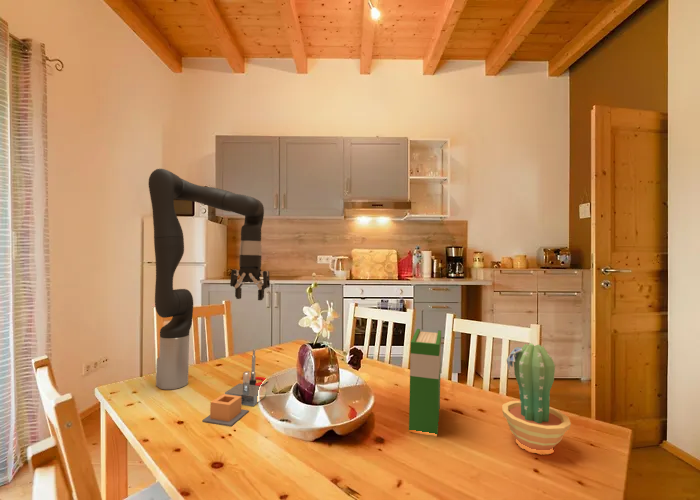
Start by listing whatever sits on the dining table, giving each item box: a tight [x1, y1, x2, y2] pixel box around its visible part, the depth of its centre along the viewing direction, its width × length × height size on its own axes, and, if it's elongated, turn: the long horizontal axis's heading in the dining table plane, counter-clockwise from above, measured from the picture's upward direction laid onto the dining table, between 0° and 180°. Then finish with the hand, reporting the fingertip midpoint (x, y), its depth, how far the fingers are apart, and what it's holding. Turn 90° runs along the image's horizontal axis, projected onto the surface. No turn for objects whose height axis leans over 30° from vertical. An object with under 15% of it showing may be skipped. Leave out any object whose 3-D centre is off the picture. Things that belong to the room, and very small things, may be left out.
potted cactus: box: [501, 343, 572, 450], centre depth 87 cm, size 15×15×25 cm
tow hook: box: [249, 349, 266, 386], centre depth 124 cm, size 8×13×9 cm
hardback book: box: [408, 328, 442, 435], centre depth 99 cm, size 18×7×24 cm, turn 163°
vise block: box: [224, 370, 260, 407], centre depth 109 cm, size 10×11×8 cm
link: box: [209, 393, 242, 421], centre depth 98 cm, size 6×6×4 cm
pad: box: [202, 408, 250, 427], centre depth 98 cm, size 9×9×1 cm
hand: (249, 299), depth 123 cm, fingers open, 8 cm apart
